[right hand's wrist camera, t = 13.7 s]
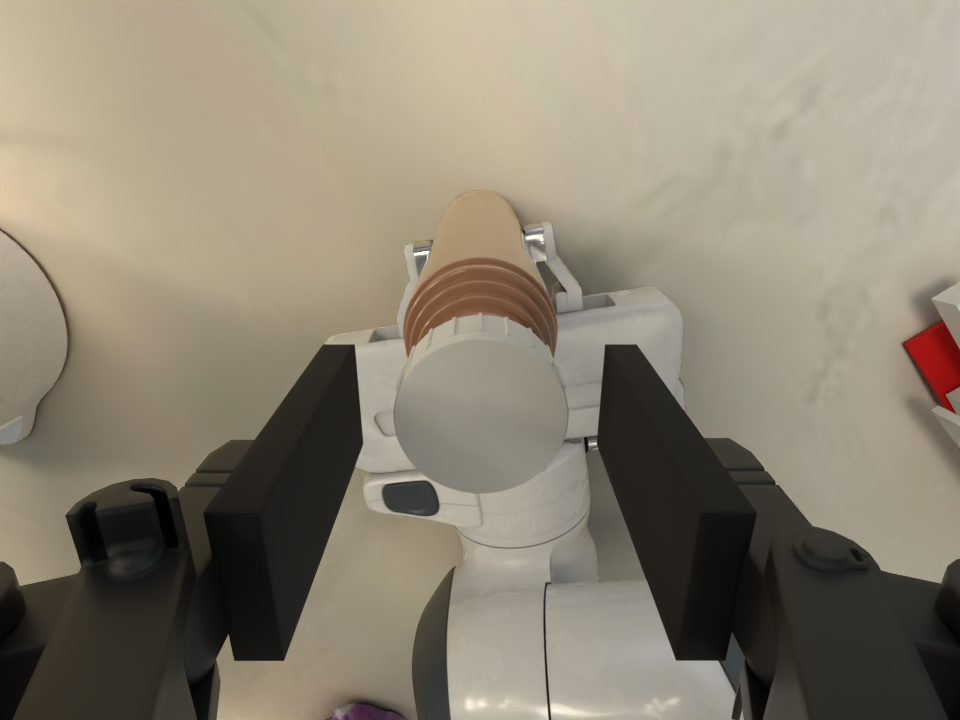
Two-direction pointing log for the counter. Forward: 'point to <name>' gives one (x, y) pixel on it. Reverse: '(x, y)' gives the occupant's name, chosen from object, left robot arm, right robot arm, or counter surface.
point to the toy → (942, 359)
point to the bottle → (480, 272)
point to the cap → (480, 405)
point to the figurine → (362, 713)
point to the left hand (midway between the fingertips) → (476, 233)
